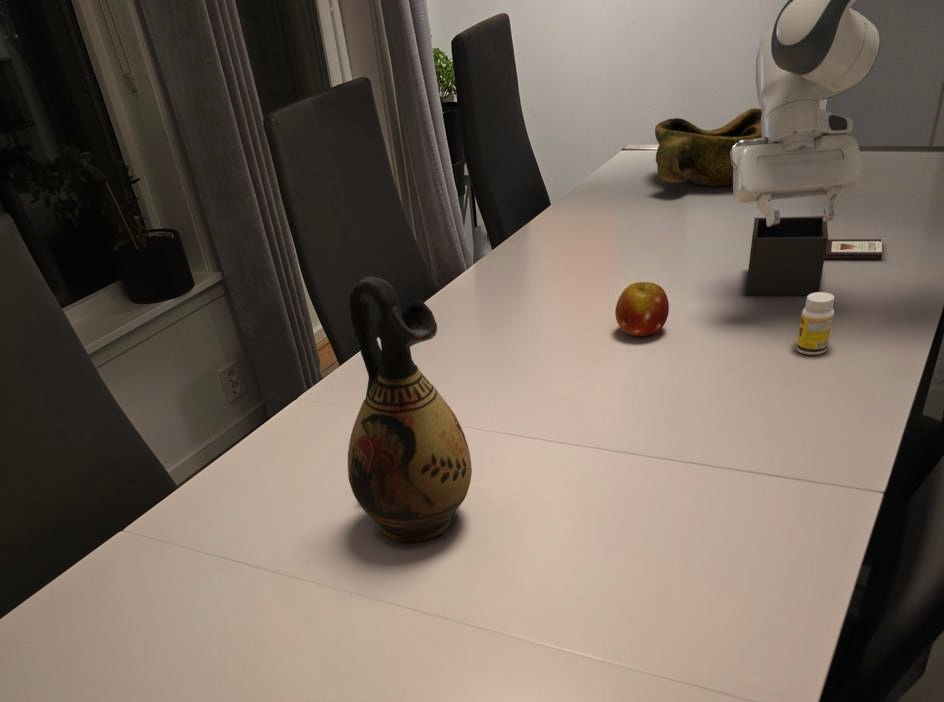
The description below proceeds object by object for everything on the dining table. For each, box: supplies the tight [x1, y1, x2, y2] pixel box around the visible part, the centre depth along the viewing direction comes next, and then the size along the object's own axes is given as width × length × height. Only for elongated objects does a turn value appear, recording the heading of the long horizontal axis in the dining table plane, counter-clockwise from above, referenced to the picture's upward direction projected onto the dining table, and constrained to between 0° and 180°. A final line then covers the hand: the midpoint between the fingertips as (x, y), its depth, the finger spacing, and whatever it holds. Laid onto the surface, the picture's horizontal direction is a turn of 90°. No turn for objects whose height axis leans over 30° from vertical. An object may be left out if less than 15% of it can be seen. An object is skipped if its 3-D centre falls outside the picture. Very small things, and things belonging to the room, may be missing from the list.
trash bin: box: [745, 215, 829, 296], centre depth 154 cm, size 13×13×10 cm
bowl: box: [654, 107, 762, 187], centre depth 209 cm, size 39×29×15 cm
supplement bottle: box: [796, 291, 835, 356], centre depth 132 cm, size 5×5×8 cm
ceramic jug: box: [347, 275, 473, 545], centre depth 99 cm, size 17×15×30 cm
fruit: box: [614, 281, 670, 337], centre depth 144 cm, size 10×9×8 cm
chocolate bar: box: [824, 238, 883, 260], centre depth 166 cm, size 9×1×18 cm
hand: (802, 222), depth 133 cm, fingers open, 8 cm apart
